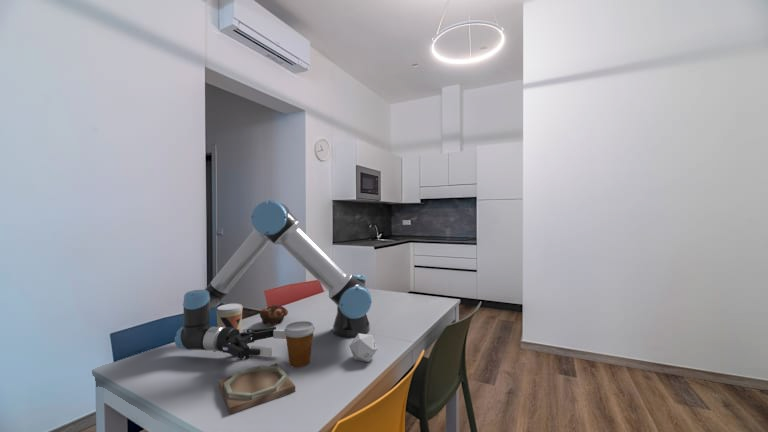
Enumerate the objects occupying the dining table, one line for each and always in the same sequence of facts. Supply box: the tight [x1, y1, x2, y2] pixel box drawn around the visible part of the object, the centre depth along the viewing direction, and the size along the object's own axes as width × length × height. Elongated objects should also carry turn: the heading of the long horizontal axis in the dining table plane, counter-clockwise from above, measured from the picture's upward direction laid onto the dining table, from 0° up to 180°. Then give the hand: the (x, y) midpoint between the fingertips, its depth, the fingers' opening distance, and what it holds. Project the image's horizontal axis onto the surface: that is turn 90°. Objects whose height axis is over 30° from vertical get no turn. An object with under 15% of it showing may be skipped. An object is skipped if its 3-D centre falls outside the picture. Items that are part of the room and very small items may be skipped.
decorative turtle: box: [259, 305, 289, 327], centre depth 137 cm, size 10×15×8 cm, turn 158°
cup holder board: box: [218, 363, 296, 415], centre depth 84 cm, size 16×16×2 cm
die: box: [349, 333, 378, 363], centre depth 101 cm, size 8×9×10 cm
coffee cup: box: [215, 303, 244, 333], centre depth 121 cm, size 9×9×12 cm
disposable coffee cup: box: [283, 320, 316, 368], centre depth 98 cm, size 10×10×12 cm
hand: (282, 342), depth 99 cm, fingers open, 13 cm apart
